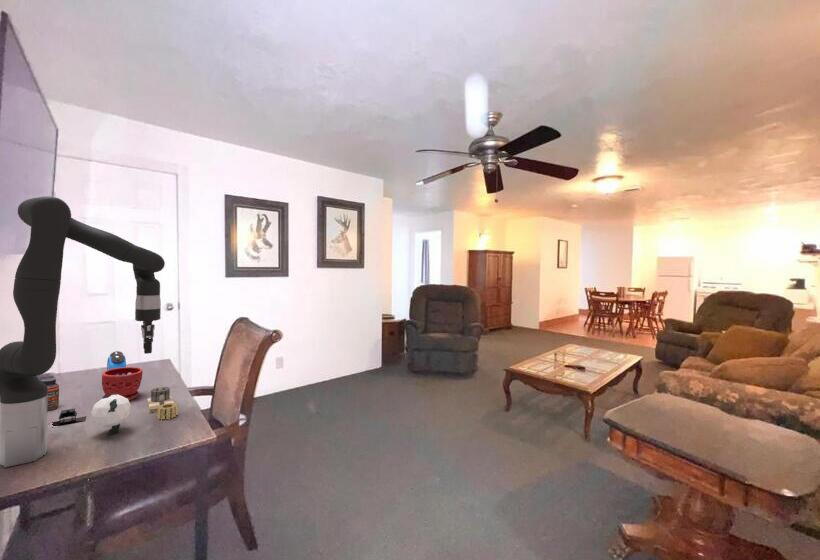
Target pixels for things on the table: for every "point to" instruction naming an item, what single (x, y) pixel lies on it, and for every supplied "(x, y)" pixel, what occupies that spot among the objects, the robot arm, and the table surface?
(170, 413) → the brass gear
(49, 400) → the supplement bottle
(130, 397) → the plant pot
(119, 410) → the figurine
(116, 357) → the alarm clock
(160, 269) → the robot arm
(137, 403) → the table surface
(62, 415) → the black flared hood
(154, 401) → the gear board
